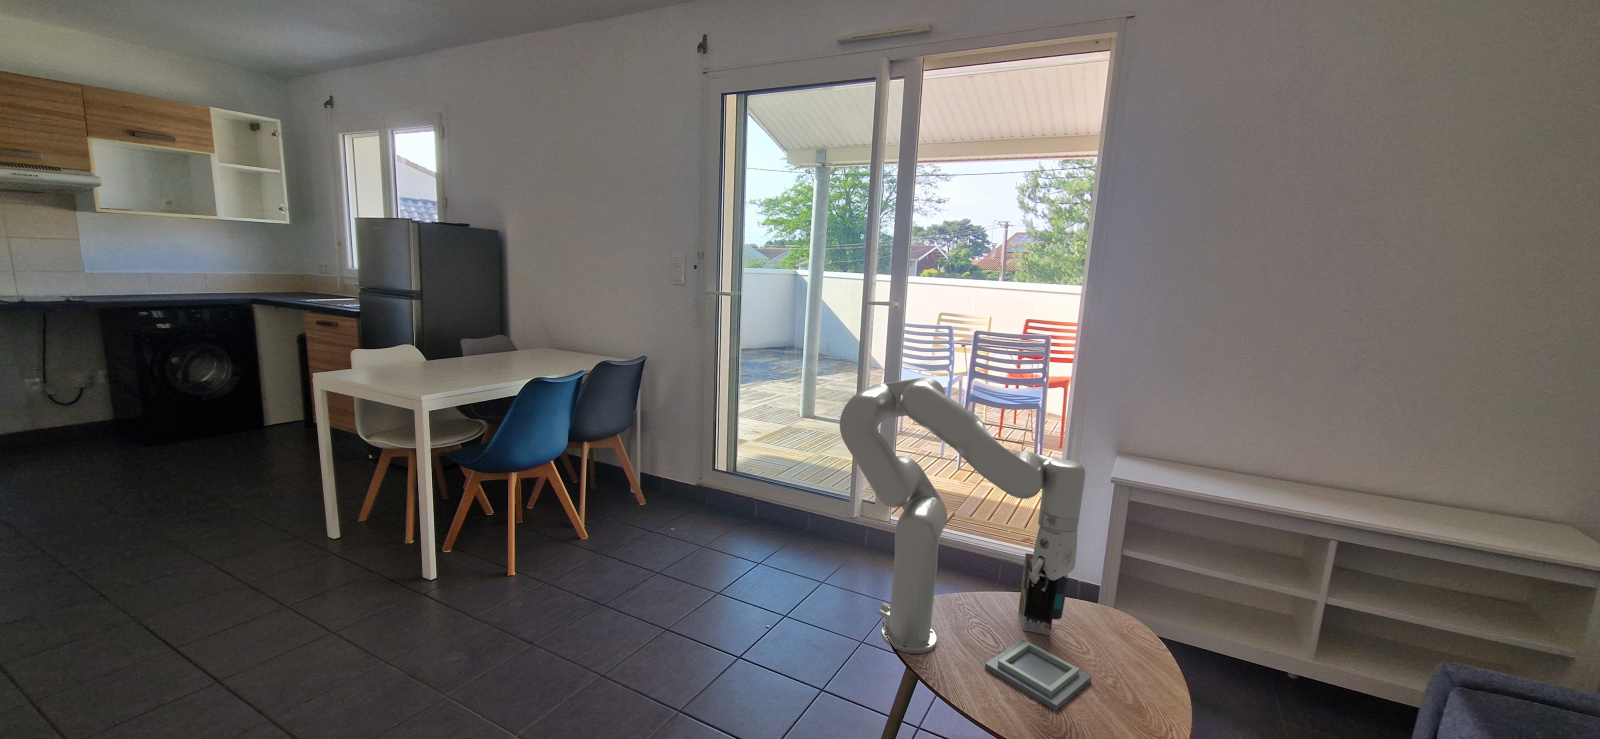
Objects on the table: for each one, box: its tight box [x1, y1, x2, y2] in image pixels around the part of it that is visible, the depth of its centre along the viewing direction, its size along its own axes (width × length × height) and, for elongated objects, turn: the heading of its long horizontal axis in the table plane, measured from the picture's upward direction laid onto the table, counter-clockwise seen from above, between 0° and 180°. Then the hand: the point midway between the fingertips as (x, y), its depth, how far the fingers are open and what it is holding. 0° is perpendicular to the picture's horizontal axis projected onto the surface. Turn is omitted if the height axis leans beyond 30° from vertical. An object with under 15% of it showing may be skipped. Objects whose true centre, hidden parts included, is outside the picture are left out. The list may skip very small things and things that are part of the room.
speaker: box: [1024, 568, 1069, 624], centre depth 128 cm, size 8×6×10 cm
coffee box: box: [1018, 553, 1053, 636], centre depth 150 cm, size 9×6×16 cm
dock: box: [984, 639, 1092, 711], centre depth 131 cm, size 16×15×2 cm
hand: (1047, 600), depth 129 cm, fingers closed on speaker, 6 cm apart
